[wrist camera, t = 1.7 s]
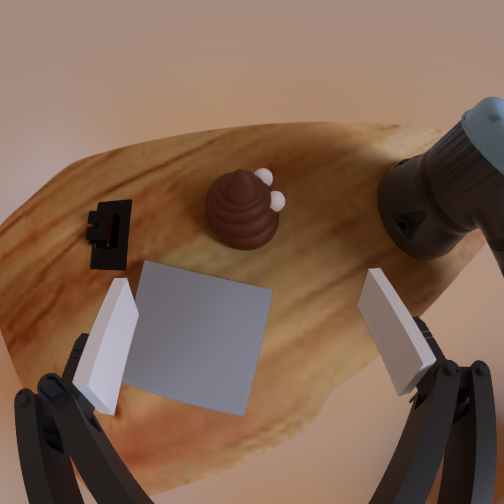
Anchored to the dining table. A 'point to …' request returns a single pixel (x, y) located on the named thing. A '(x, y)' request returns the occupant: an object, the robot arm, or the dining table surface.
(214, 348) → the grey block
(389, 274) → the dining table surface
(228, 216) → the poop emoji
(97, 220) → the black mounting bracket
